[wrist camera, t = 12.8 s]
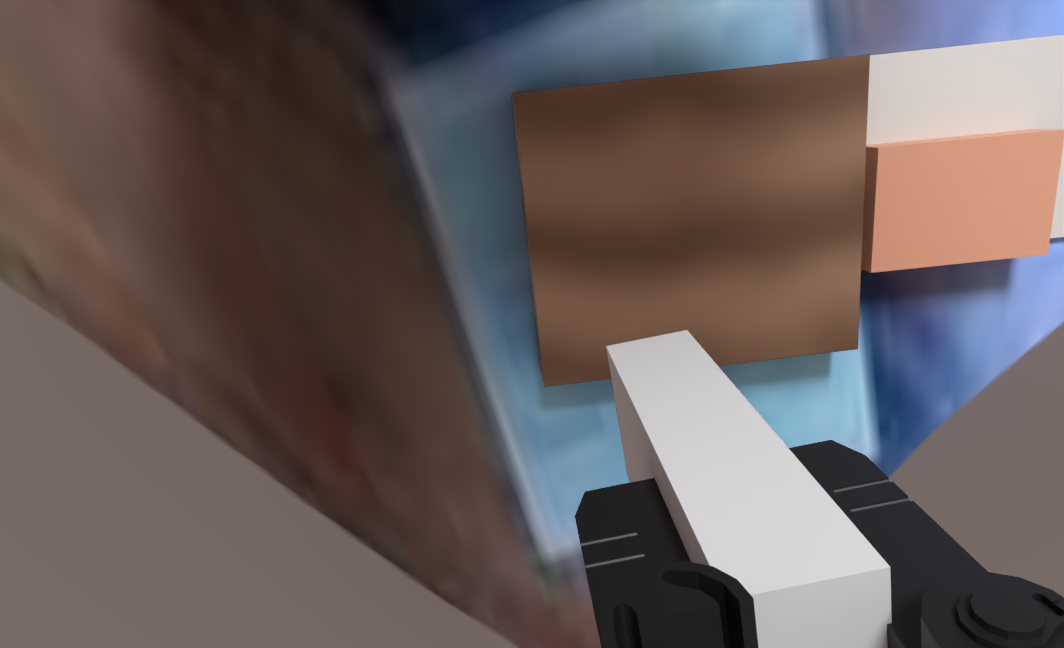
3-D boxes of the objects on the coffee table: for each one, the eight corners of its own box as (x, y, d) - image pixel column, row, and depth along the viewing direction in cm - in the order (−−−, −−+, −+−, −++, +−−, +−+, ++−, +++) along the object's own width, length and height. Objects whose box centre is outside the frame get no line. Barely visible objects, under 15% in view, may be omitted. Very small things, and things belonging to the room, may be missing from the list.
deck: (511, 94, 32) (513, 92, 30) (842, 58, 33) (869, 54, 30) (540, 369, 36) (544, 386, 34) (833, 333, 37) (857, 349, 34)
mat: (842, 58, 33) (845, 58, 32) (1103, 30, 33) (1109, 29, 33) (835, 262, 36) (838, 263, 35) (1076, 233, 36) (1081, 234, 36)
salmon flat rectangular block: (850, 264, 35) (871, 272, 33) (856, 145, 34) (878, 147, 32) (1017, 247, 36) (1047, 254, 34) (1032, 128, 34) (1065, 129, 32)
